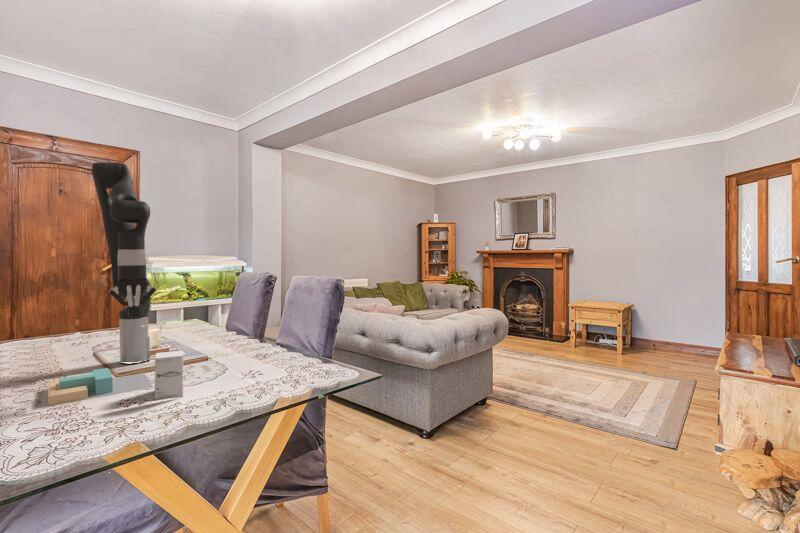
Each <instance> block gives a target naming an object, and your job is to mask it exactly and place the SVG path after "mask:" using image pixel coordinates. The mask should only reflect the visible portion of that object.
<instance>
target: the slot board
mask: <svg viewBox="0 0 800 533" xmlns="http://www.w3.org/2000/svg"><path fill="white" fill-rule="evenodd" d="M112 385H113V392H109V393H104V394H99V395H96V394H95V391H93V392H88V389H87V385H86V386H80V387H74V388H68V389H62V390H60V386H59V379H55V380H49V381H48V388H45V389H42V394H41V395H42V396H41V403H40V408H41V409H43V408H49V407H54V406H60V405H64V404H70V403H75V402H82V401H85V400H92V399H99V398H102V397H103V398H104V397H107V396H114V395H119V394H123V393H124V394H125V393H129V392H134V391H140V390H144V389H145V390H146V389H149V388H154V386H153V384H152V383H151V382H150V379H149V378H148V377H147V375H146V374H145V372H141V373H136V374H135V373H134V374H129V375H124V376H118V377H112Z"/></svg>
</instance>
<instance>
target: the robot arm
mask: <svg viewBox="0 0 800 533" xmlns="http://www.w3.org/2000/svg"><path fill="white" fill-rule="evenodd" d="M91 173H92V174H91V175H92V179H93V184H94V186H95V190H96V194H97V198H98V202H99V204H100V205H99V206H100V211H101V215H102V223H103V228H104V234H105V239H106V242H107V247H108V254H109V258H110V265H111V276H112V278H111V279H112V287H113V288H112V289H109V290H108V294H109V295H111V296H112V297H113V299H115V300H116V301H117V302H118V303H119V304H120V305H122V306H124V307H125V306H126V308H123V309H121V310H120V311H119V313H118V314H119V322H118V323H119V355H120V356H119V361H120V362H139V361H144V360H150V361H151V346H150V345H151V343H150V342H151V341H150V340H151V339H150V335H149V311H150V309H151V301H152V300H151V299H152V298H151V297H152V296H153V294H154V293H155V292H156V290H157V289H156V288H155V287H153V286H151V282H150V280H149V279H148V278H147V255H146V250H145V249H146V248H145V235H146V230H147V226H148V222H149V219H150V216H151V207H150V206H149V204H148V203H147V202H145V201H143V200H139V198H138V196H137V195H136V192H135V190H134V183H133V179H132V175H131V172H130V169H129V167H128V166H127V164H126V163H124V162H117V161H116V162H111V161H110V162H109V161H107V162H94V163H92V165H91ZM109 189H110V191H108V190H109ZM108 192H109V193H108ZM134 224H136V226H135V225H134ZM120 362H119V363H120Z"/></svg>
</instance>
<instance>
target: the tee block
mask: <svg viewBox="0 0 800 533" xmlns="http://www.w3.org/2000/svg"><path fill="white" fill-rule="evenodd" d="M112 378H113V376H112V373H111V371H110V369H109V367H105V368H97V369H93V370H92V372H91V373H86V374H80V375H73V376H67V377H62V378H58V380H59V386H60V390H62V389H68V388H74V387H80V386H86V385H87V389H88V392H93V391H95V394H96V395H99V394H104V393H109V392H113V385H112Z"/></svg>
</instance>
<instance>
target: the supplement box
mask: <svg viewBox="0 0 800 533" xmlns="http://www.w3.org/2000/svg"><path fill="white" fill-rule="evenodd" d="M183 397H184V350H174V351H163V352H156V353H155V356H154V401H155V402H156V401H162V400H168V399H170V400H171V399H177V398H183Z"/></svg>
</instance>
